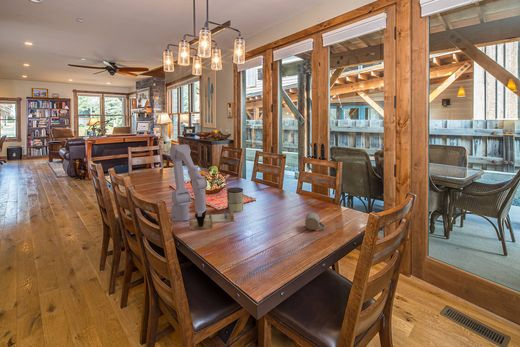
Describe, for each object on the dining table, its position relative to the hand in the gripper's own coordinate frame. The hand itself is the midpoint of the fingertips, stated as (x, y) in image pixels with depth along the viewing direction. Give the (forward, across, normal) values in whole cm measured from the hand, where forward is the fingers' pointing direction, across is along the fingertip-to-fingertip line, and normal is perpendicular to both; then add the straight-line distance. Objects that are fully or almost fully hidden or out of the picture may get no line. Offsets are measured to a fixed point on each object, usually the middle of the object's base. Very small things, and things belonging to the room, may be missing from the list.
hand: (201, 225), depth 158 cm
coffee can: (+2, +28, -20) cm, 35 cm away
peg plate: (+2, +14, -9) cm, 16 cm away
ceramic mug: (+2, -9, -61) cm, 62 cm away
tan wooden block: (+2, 0, 0) cm, 2 cm away
